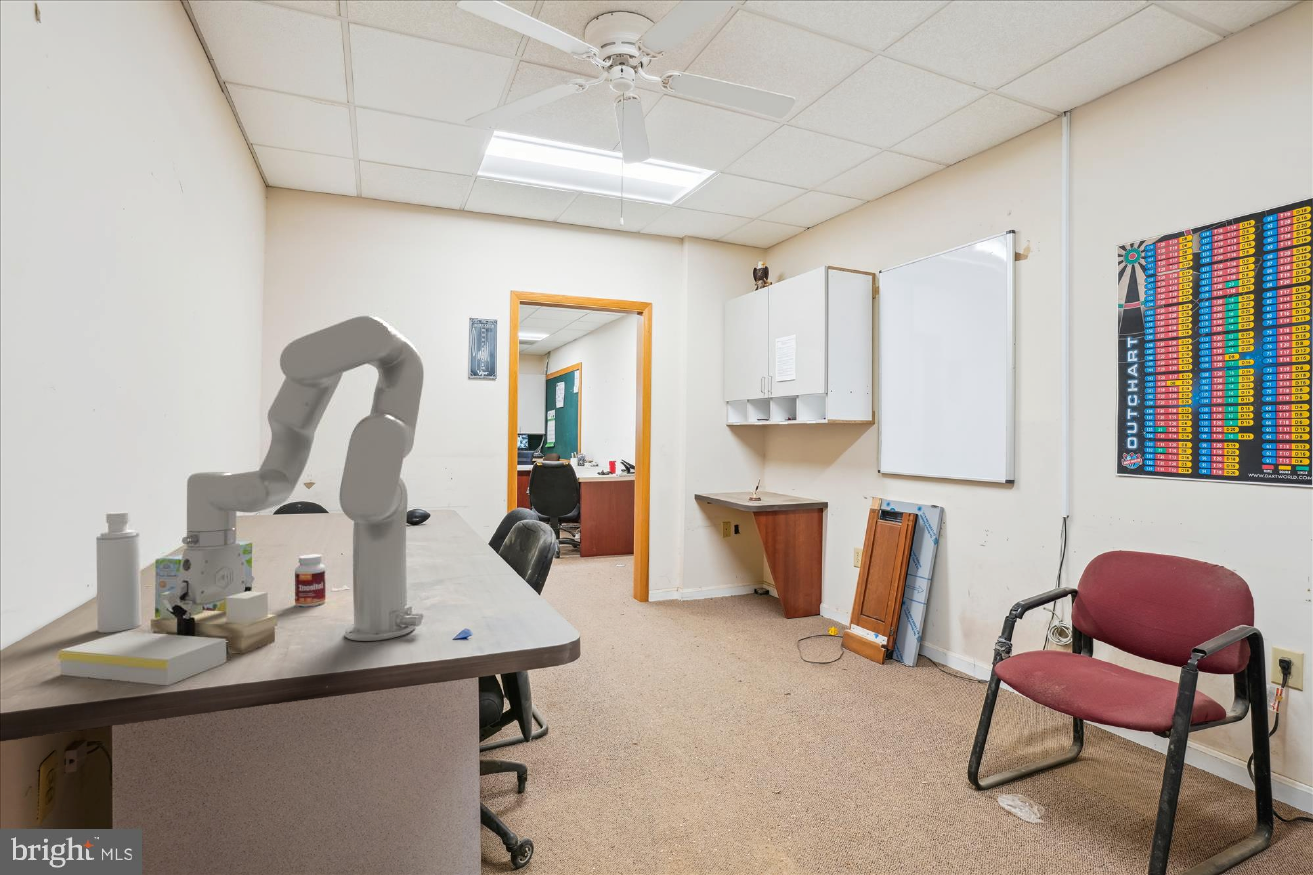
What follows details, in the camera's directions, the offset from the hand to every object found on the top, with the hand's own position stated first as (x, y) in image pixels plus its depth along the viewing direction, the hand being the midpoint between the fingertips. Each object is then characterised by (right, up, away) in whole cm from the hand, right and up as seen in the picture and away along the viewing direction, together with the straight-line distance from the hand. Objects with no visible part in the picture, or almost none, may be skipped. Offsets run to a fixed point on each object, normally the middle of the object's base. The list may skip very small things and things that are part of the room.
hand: (211, 631), depth 116 cm
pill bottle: (+3, -3, +28) cm, 28 cm away
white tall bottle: (-27, -3, +11) cm, 29 cm away
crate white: (+8, +3, -2) cm, 8 cm away
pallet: (+1, -2, 0) cm, 2 cm away
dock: (-2, -2, -12) cm, 12 cm away
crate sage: (-7, +2, +2) cm, 7 cm away
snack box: (-12, -3, +16) cm, 20 cm away
